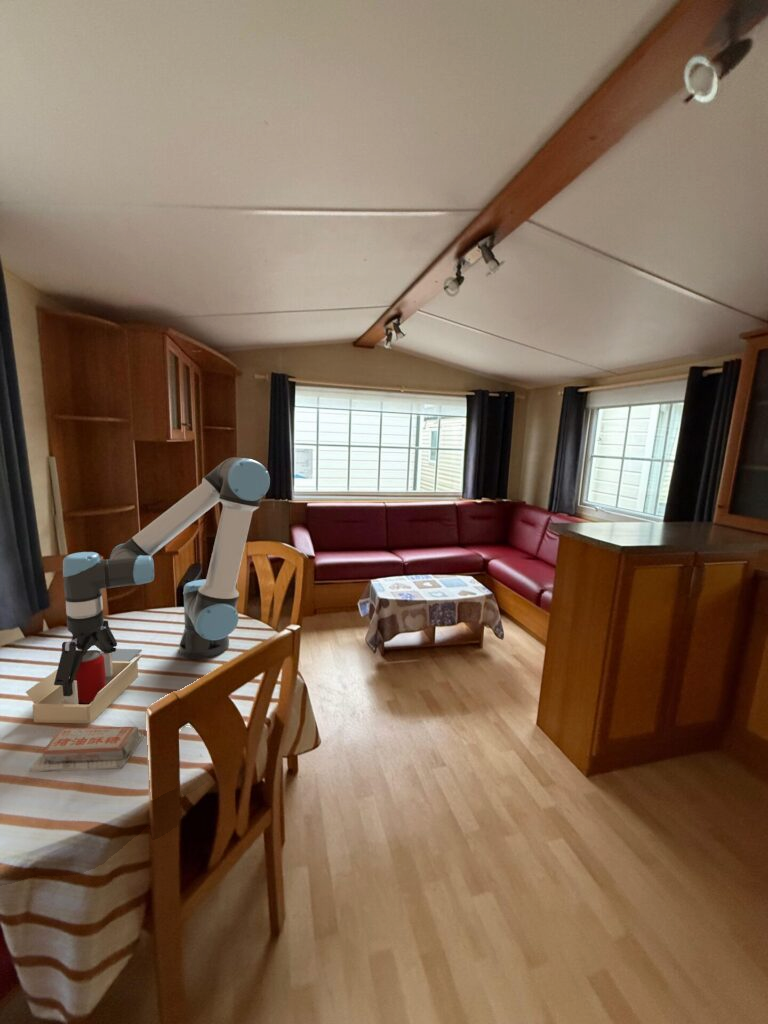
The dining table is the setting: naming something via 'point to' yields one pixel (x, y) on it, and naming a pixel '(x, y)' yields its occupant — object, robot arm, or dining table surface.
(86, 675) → the beverage can
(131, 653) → the coaster
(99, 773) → the dining table surface
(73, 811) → the dining table surface
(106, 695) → the carton
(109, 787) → the dining table surface
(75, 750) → the packaged product
